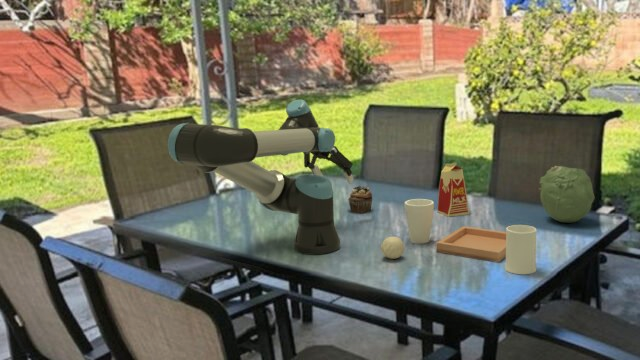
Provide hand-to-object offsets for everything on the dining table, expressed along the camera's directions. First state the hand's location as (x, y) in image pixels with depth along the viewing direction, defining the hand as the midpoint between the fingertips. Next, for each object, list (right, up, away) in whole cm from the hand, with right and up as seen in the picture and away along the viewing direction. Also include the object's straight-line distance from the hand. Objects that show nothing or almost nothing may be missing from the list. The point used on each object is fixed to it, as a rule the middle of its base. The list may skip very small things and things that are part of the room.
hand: (336, 180), depth 233 cm
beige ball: (+16, -24, -41) cm, 50 cm away
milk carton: (+44, -13, +6) cm, 47 cm away
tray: (+44, -21, -35) cm, 60 cm away
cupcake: (+10, -12, +15) cm, 22 cm away
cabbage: (+80, -15, -12) cm, 83 cm away
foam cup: (+27, -20, -25) cm, 42 cm away
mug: (+52, -25, -54) cm, 79 cm away
